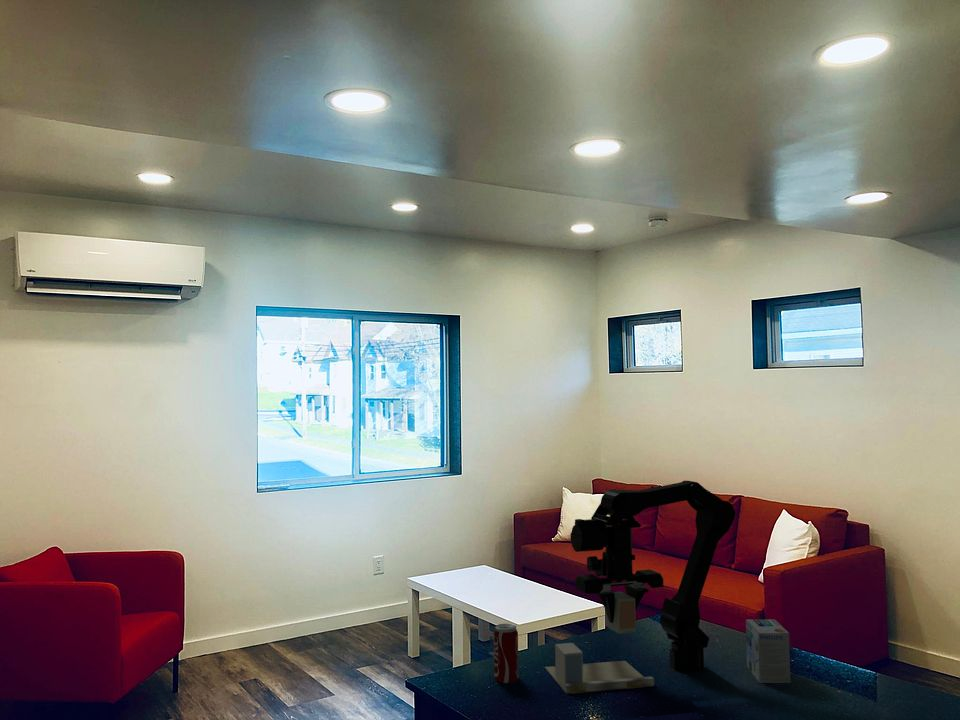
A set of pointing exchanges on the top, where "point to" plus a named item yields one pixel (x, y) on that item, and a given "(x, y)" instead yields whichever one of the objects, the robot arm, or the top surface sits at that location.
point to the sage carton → (623, 614)
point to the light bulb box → (768, 651)
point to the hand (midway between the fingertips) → (620, 621)
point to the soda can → (505, 653)
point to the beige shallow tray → (605, 677)
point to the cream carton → (568, 663)
